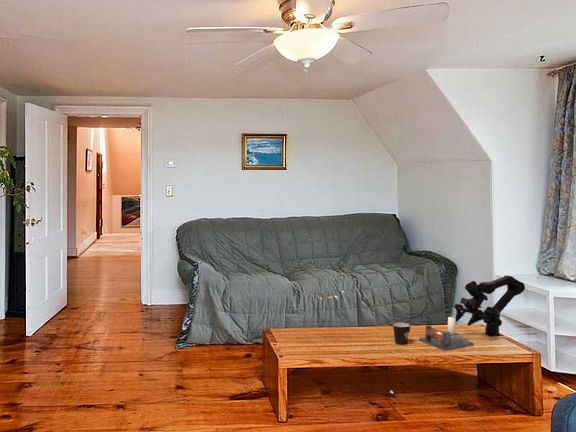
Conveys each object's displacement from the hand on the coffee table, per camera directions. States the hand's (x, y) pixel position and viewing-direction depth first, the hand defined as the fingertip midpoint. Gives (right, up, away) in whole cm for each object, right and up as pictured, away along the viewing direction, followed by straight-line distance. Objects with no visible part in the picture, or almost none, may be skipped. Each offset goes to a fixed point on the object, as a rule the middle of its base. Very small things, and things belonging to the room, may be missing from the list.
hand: (461, 323), depth 286 cm
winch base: (-10, -10, -5) cm, 15 cm away
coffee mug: (-33, -10, -4) cm, 34 cm away
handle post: (-6, -8, -3) cm, 11 cm away
